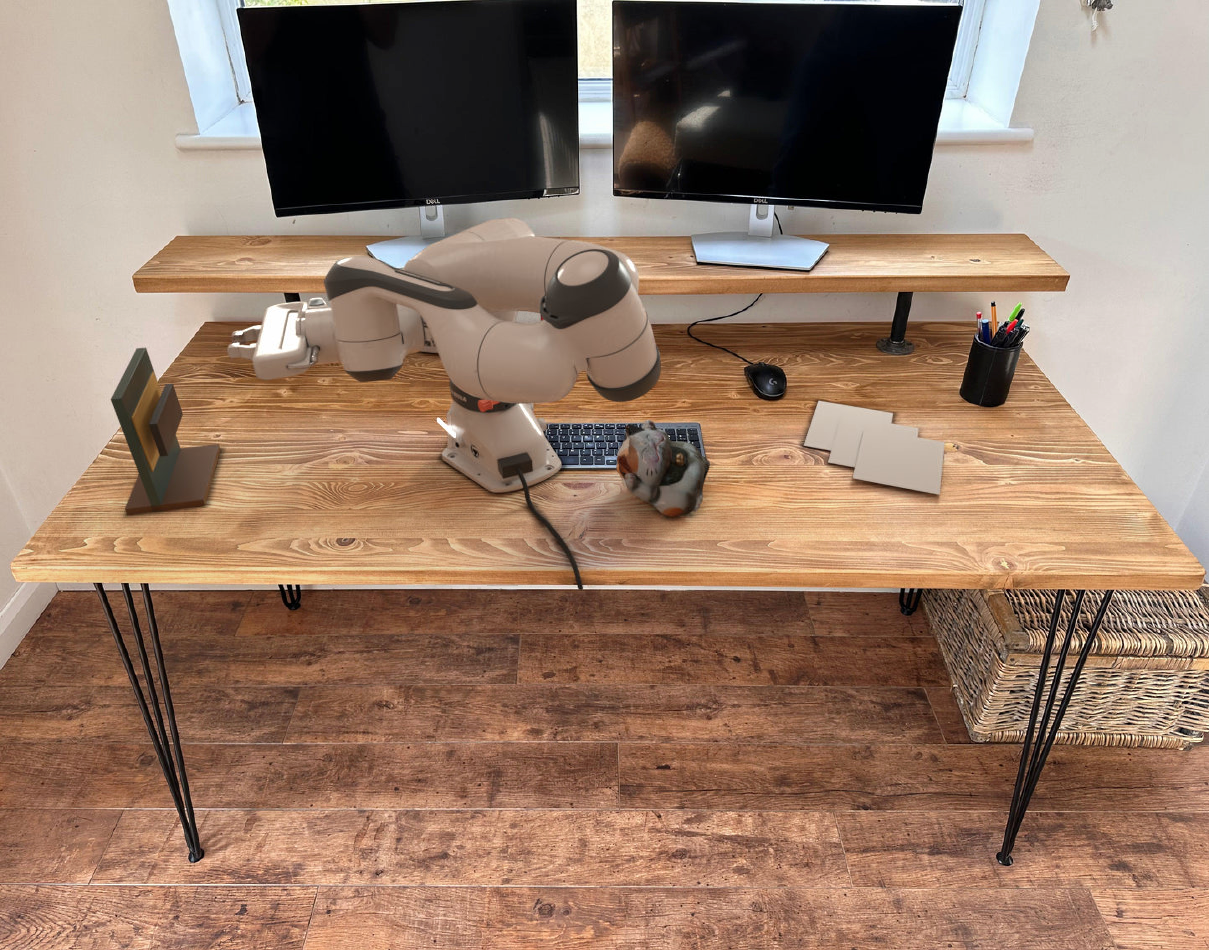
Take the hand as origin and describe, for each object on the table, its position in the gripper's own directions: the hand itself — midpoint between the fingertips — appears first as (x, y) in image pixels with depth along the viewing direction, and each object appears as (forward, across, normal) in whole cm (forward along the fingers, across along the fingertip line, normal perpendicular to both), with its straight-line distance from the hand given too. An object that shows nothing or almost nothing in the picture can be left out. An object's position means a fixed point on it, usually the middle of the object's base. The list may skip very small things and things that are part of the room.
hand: (230, 344), depth 138 cm
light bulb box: (-32, +43, -24) cm, 59 cm away
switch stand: (+15, 0, -24) cm, 28 cm away
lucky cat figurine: (-65, -22, -24) cm, 73 cm away
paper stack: (-105, -15, -24) cm, 109 cm away
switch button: (+13, 0, -15) cm, 20 cm away
